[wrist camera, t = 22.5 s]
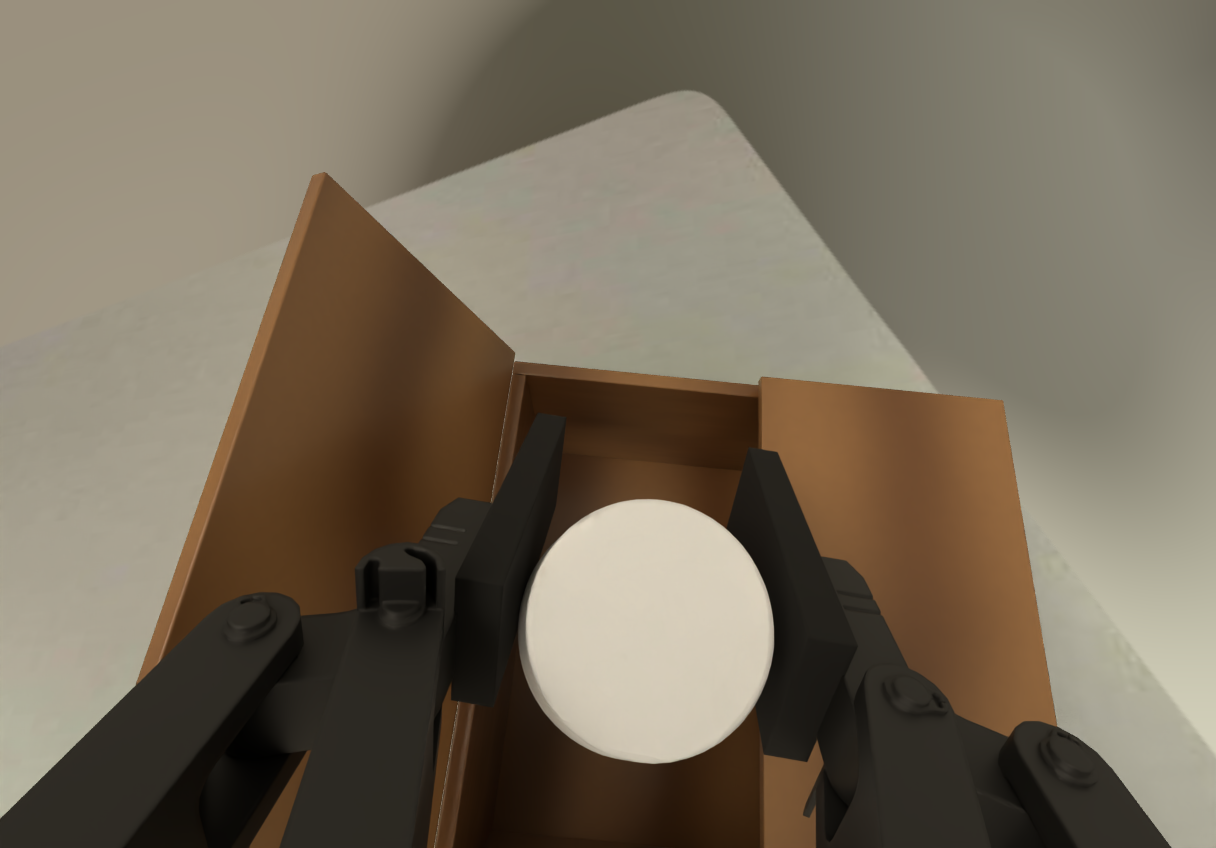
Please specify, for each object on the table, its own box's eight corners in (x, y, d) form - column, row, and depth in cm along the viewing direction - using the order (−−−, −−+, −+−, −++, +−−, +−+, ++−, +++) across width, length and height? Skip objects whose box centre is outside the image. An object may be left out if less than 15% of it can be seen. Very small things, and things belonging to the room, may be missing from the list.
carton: (479, 839, 23) (404, 987, 13) (535, 444, 29) (511, 350, 19) (894, 878, 23) (1115, 1052, 14) (865, 476, 29) (1005, 398, 19)
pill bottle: (727, 599, 17) (849, 570, 9) (651, 754, 16) (720, 876, 8) (592, 518, 18) (600, 427, 10) (507, 659, 16) (436, 682, 8)
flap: (412, 984, 14) (399, 978, 14) (516, 352, 19) (505, 353, 20) (-77, 1360, 6) (-94, 1340, 6) (325, 170, 12) (311, 174, 12)
